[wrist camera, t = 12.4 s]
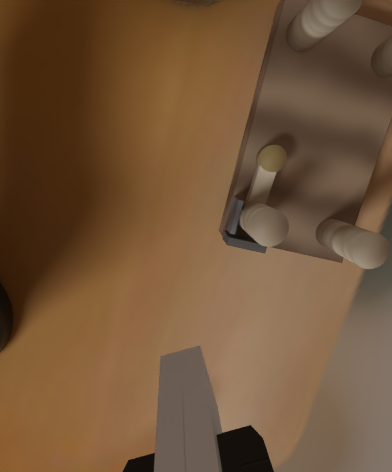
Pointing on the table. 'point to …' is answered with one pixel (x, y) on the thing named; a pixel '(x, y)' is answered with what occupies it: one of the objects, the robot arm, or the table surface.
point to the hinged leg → (264, 200)
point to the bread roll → (196, 2)
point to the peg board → (318, 129)
